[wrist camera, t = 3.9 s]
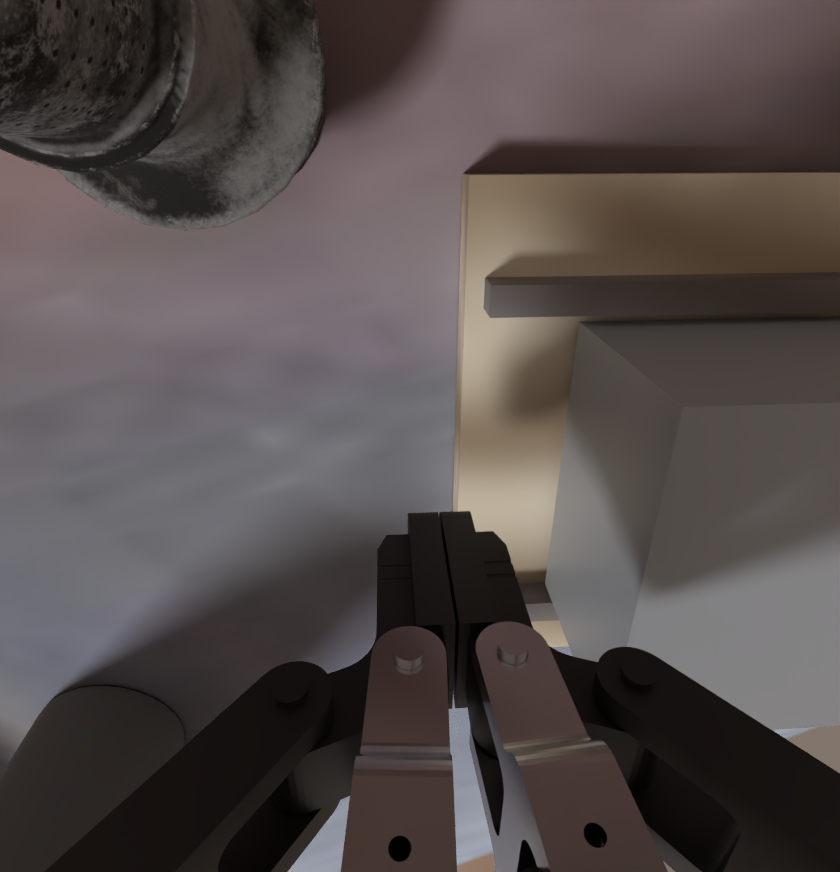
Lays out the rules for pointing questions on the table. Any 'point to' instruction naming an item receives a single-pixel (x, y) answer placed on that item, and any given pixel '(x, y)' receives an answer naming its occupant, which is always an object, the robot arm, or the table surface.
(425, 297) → the table surface
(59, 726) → the bottle
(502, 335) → the board
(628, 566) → the cover
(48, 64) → the salt shaker
